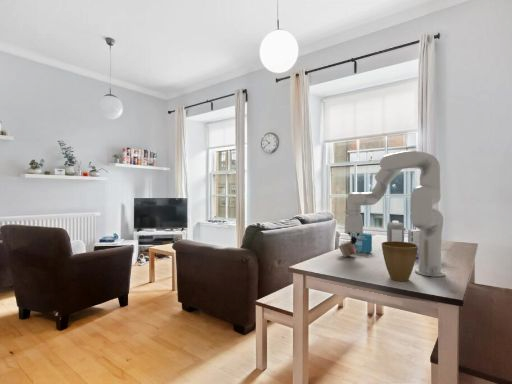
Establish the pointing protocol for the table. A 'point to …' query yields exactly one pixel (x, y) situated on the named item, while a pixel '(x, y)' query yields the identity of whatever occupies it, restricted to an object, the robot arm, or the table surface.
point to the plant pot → (399, 259)
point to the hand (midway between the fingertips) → (353, 243)
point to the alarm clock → (395, 231)
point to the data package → (363, 243)
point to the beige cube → (347, 249)
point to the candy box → (414, 239)
